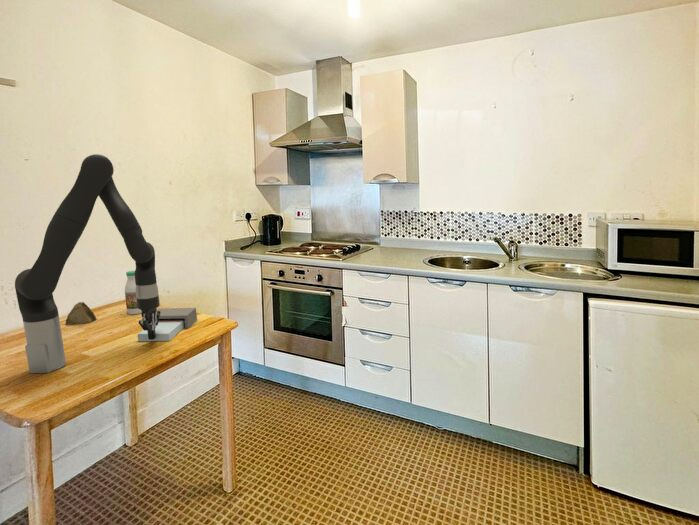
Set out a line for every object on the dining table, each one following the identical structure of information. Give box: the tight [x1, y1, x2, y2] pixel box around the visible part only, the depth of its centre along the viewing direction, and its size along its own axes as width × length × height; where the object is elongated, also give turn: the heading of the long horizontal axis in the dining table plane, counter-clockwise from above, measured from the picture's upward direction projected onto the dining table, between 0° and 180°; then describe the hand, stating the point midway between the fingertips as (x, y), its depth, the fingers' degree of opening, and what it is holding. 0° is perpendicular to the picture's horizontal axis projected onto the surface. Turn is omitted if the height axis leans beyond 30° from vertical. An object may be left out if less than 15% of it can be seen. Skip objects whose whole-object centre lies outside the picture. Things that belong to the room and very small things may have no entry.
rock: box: [65, 301, 98, 325], centre depth 174 cm, size 11×9×10 cm
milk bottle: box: [124, 270, 142, 315], centre depth 186 cm, size 8×8×20 cm
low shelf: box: [157, 307, 198, 329], centre depth 170 cm, size 11×16×6 cm, turn 92°
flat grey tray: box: [137, 320, 185, 342], centre depth 160 cm, size 16×12×3 cm
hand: (152, 338), depth 150 cm, fingers closed
